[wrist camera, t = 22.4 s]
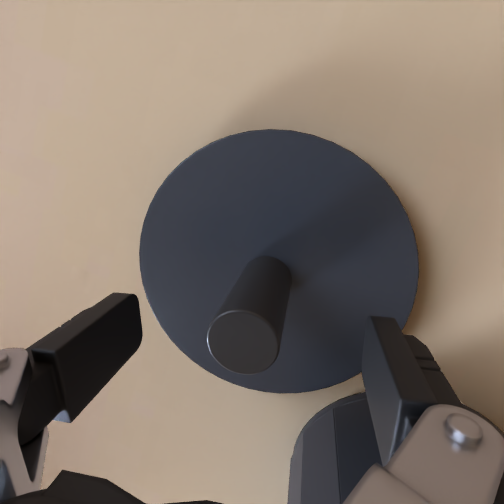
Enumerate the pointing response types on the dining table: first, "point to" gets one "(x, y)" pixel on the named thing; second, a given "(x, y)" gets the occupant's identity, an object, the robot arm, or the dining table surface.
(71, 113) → the dining table surface
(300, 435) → the pot
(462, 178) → the dining table surface
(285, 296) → the pot lid
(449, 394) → the robot arm
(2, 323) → the dining table surface
